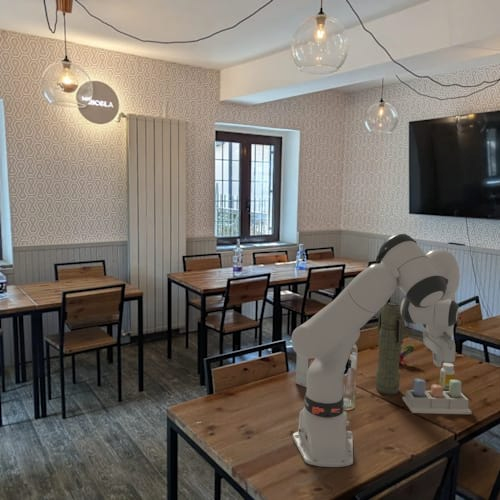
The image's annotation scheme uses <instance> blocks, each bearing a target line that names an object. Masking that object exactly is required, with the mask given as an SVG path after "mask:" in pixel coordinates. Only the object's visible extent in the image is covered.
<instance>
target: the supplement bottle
mask: <svg viewBox="0 0 500 500" xmlns="http://www.w3.org/2000/svg"><path fill="white" fill-rule="evenodd" d="M454 367H455V366H454V364H453V363H448V362H442V368H441V369H440V373H439V383H438V385H441V386H443V390H446V391H449V383H450V380H452V379H455V376H456V372H455V370H454ZM455 380H456V379H455Z"/></svg>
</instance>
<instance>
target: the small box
mask: <svg viewBox="0 0 500 500" xmlns="http://www.w3.org/2000/svg"><path fill="white" fill-rule="evenodd" d="M314 359H315V358H307V359H306V358H302V357H300V356H299V355H298V354H297V353H296V361H295V362H296V364H295V368H296V369H295V384H297V385H299V386H301V387H305V388H307V371H308V369H309V367H310V365H311V364H312V363H313V361H314Z"/></svg>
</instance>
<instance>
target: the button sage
mask: <svg viewBox="0 0 500 500" xmlns="http://www.w3.org/2000/svg"><path fill="white" fill-rule="evenodd" d="M448 391H449V397H450V398H461V393H462V381H461V380H460V379H459V380H458V379H452V380H450V383H449V390H448Z"/></svg>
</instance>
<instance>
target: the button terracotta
mask: <svg viewBox="0 0 500 500" xmlns="http://www.w3.org/2000/svg"><path fill="white" fill-rule="evenodd" d="M430 391H431V397H432V398H443V391H444V389H443V386H441V385H439V384H436V383H434V384H431V386H430Z"/></svg>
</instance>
